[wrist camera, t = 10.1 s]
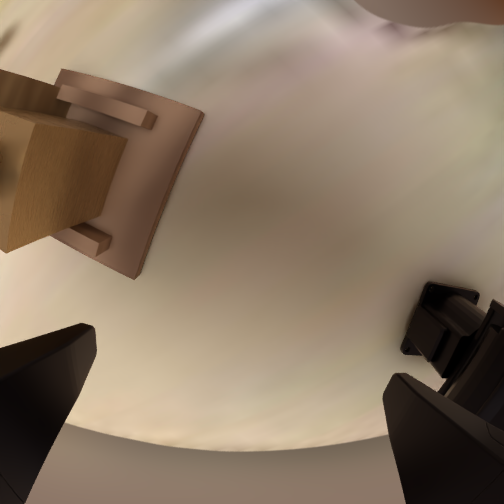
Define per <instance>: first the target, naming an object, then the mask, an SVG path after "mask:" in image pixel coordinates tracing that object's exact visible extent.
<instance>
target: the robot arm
mask: <svg viewBox="0 0 504 504" xmlns="http://www.w3.org/2000/svg"><path fill="white" fill-rule="evenodd" d="M430 287H432V288H431V290H430V291H429V289H430ZM474 296H475V297H474ZM479 296H480V295H479V292H477V291H475V290H471V289H466V288H461V287H456V286H450V285H445V284H440V283H435V282H428V283H427V284H426V285H425V287H424V290H423V293H422V296H421V299H420V301H419V304H418V307H417V309H416V311H415V314H414V317H413V319H412V322H411V324H410V327H409V329H408V332H407V335H406V337H405V339H404V342H403V344H402V346H401V351H402V353H403V354H405V355H421V356H423V357H424V358H425V359H426V360H427V362H430V363H431V365H432V366H433V367H434V369H435V370H436V371H437V372H438V374H439V375H440V376H441V378H445V379H446V381H445V383H444V384H443V385H442V387H441V388H440V389H439V391H438V392H436V391H435V390H433V389H431V388H430V387H428V386H426V385H425V384H423V383H422V382H420V381H418V380H417V379H415V378H413V377H412V376H410V375H409V374H407V373H395V374H393V375H392V377H391V379H390V381H389V383H388V385H387V387H386V389H385V391H384V393H383V405H384V410H385V416H386V421H387V427H388V433H389V438H390V442H391V446H392V450H393V453H394V457H395V461H396V465H397V468H398V472H399V476H400V481H401V485H402V489H403V493H404V498H405V502H406V504H504V305H503V304H501V303H499V302H497V301H496V300H494V299H493V300H492V302H491V304H490V308H489V310H488V312H487V313H485V312H484V311H483V310H481V309H480V308H479V307H477V306H476V305H477V302H478V299H479ZM407 347H408V348H407ZM406 348H407V349H406ZM405 349H406V350H405ZM96 353H97V346H96V333H95V328H94V327H93V326H91V325H88V324H85V323H79V324H76V325H73V326H70V327H67V328H63V329H60V330H57V331H54V332H51V333H48V334H44V335H41V336H38V337H35V338H31V339H28V340H25V341H22V342H18V343H15V344H12V345H9V346H5V347H2V348H0V504H24V503H25V502H26V500H27V498H28V495H29V493H30V491H31V489H32V486H33V484H34V482H35V480H36V478H37V476H38V473H39V472H40V469H41V467H42V465H43V463H44V461H45V459H46V457H47V455H48V453H49V451H50V449H51V447H52V445H53V443H54V441H55V439H56V437H57V435H58V433H59V432H60V430H61V428H62V426H63V424H64V422H65V420H66V419H67V417H68V415H69V413H70V411H71V409H72V408H73V406H74V404H75V402H76V400H77V398H78V396H79V394H80V392H81V390H82V388H83V385H84V383H85V380H86V378H87V376H88V373H89V371H90V369H91V366H92V364H93V362H94V359H95V357H96Z"/></svg>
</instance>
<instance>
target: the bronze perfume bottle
mask: <svg viewBox="0 0 504 504" xmlns="http://www.w3.org/2000/svg"><path fill="white" fill-rule="evenodd" d="M127 141H128V138H125V137H122V136H120V135H117V134H114V133H112V132H109V131H106V130H104V129H101V128H98V127H96V126H93V125H90V124H87V123H85V122H82V121H79V120H74V119H69V118H65V117H60V116H54V115H49V114H44V113H38V112H32V111H27V110H20V109H14V108H7V107H0V249H1V250H2V251H3V252H5V253H9V252H11V251H13V250H15V249H18V248H20V247H22V246H25V245H27V244H29V243H32V242H34V241H37V240H39V239H42V238H44V237H46V236H49V235H51V234H54V233H57V232H59V231H62V230H64V229H67V228H69V227H72V226H75V225H77V224H80V223H83V222H86V221H88V220H91V219H94V218H97V217H99V216H101V214H102V210H103V207H104V204H105V201H106V198H107V195H108V192H109V189H110V186H111V183H112V180H113V178H114V175H115V172H116V169H117V167H118V164H119V161H120V159H121V156H122V154H123V151H124V149H125V146H126V144H127Z"/></svg>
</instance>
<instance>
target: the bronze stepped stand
mask: <svg viewBox="0 0 504 504" xmlns="http://www.w3.org/2000/svg"><path fill="white" fill-rule="evenodd" d="M0 107H7V108H14V109H20V110H27V111H32V112H38V113H44V114H49V115H54V116H60V117H65V118H69V119H74V120H79V121H82V122H85V123H87V124H90V125H93V126H96V127H98V128H101V129H104V130H106V131H109V132H112V133H114V134H117V135H120V136H122V137H125V138H128V141H127V144H126V146H125V149H124V151H123V154H122V156H121V159H120V161H119V164H118V167H117V169H116V172H115V175H114V178H113V180H112V183H111V186H110V189H109V192H108V195H107V198H106V201H105V204H104V207H103V210H102V214H101V216H99V217H97V218H94V219H91V220H88V221H86V222H83V223H80V224H77V225H75V226H72V227H69V228H67V229H64V230H62V231H59V232H57V233H54V234H51V235H50V236H52V237H53V238H55V239H57V240H59V241H60V242H62V243H64V244H66V245H68V246H70V247H71V248H73V249H75V250H77V251H79V252H81V253H82V254H84V255H86V256H88V257H90V258H92V259H94V260H96V261H98V262H99V263H101V264H103V265H105V266H107V267H109V268H111V269H113V270H115V271H117V272H119V273H121V274H123V275H125V276H127V277H129V278H131V279H133V280H135V279H136V278H137V277H138V276H139V275H140V273H141V270H142V267H143V264H144V261H145V258H146V255H147V252H148V249H149V246H150V244H151V241H152V238H153V235H154V232H155V230H156V227H157V224H158V222H159V219H160V216H161V214H162V211H163V209H164V206H165V204H166V201H167V199H168V196H169V194H170V191H171V189H172V186H173V184H174V181H175V179H176V177H177V174H178V172H179V169H180V167H181V165H182V162H183V160H184V158H185V156H186V153H187V151H188V149H189V147H190V144H191V142H192V140H193V138H194V136H195V133H196V131H197V129H198V127H199V125H200V123H201V121H202V119H203V117H204V113H203V112H202V111H200V110H197V109H195V108H192V107H189V106H187V105H184V104H181V103H178V102H176V101H173V100H170V99H167V98H164V97H161V96H158V95H155V94H152V93H149V92H146V91H143V90H140V89H137V88H133V87H130V86H127V85H123V84H120V83H116V82H113V81H109V80H106V79H102V78H98V77H94V76H91V75H87V74H83V73H78V72H74V71H70V70H66V69H61V71H60V73H59V75H58V78H57V80H56V82H55V84H54V85H51V84H48V83H45V82H41V81H38V80H35V79H32V78H29V77H25V76H22V75H18V74H15V73H11V72H8V71H4V70H1V69H0Z"/></svg>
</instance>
